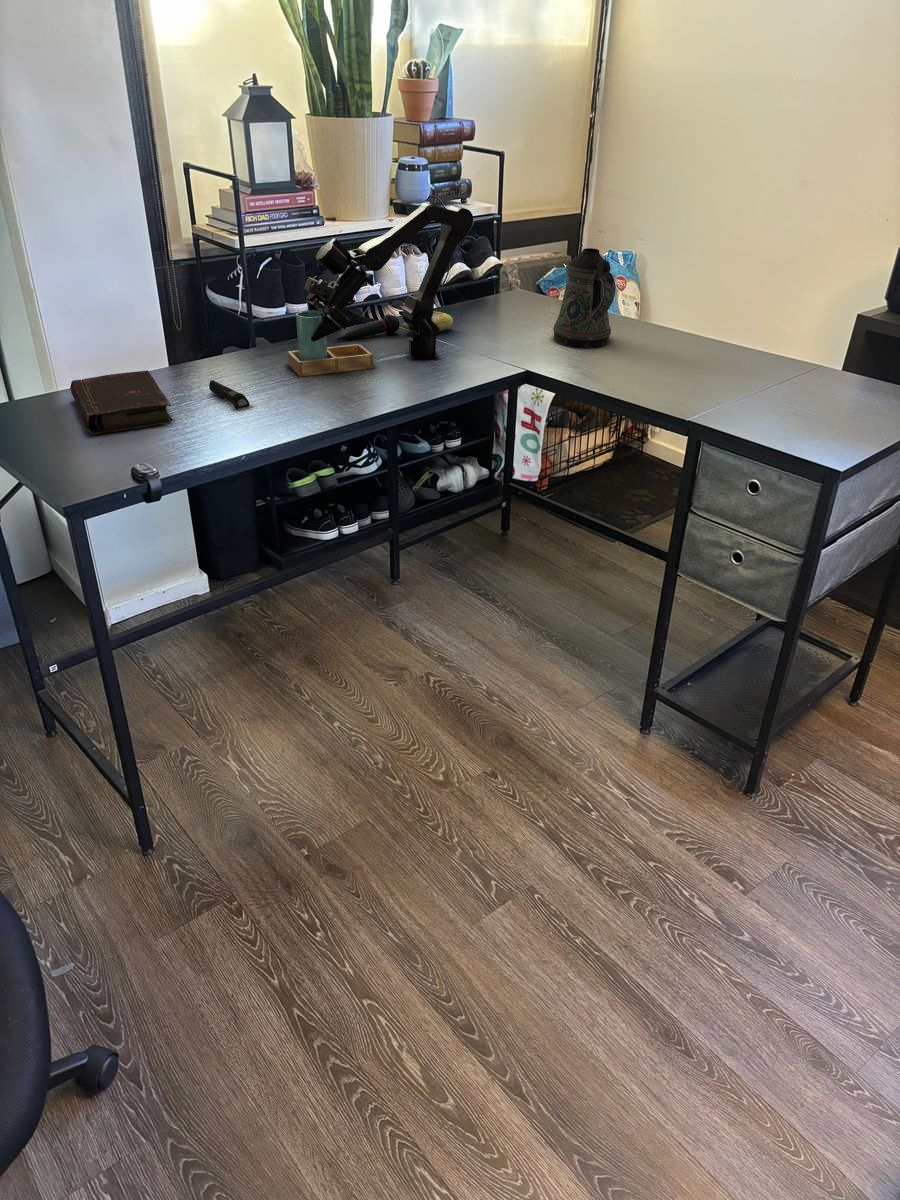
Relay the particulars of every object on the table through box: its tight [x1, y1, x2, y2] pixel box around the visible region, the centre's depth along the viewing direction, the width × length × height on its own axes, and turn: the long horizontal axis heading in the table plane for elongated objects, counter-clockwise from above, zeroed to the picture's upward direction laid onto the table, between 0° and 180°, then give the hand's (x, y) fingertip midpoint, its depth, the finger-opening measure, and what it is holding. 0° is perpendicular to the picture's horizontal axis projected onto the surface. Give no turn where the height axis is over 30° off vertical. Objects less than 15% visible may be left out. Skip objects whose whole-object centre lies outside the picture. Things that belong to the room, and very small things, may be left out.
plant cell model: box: [403, 310, 454, 332], centre depth 260 cm, size 11×8×15 cm
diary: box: [69, 369, 174, 436], centre depth 198 cm, size 19×25×5 cm
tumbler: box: [295, 309, 328, 361], centre depth 226 cm, size 7×7×13 cm
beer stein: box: [552, 247, 617, 349], centre depth 249 cm, size 16×19×25 cm
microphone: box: [336, 313, 401, 341], centre depth 255 cm, size 6×6×20 cm
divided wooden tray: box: [287, 343, 374, 377], centre depth 230 cm, size 20×10×4 cm, turn 114°
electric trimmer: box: [208, 379, 251, 410], centre depth 207 cm, size 4×16×3 cm, turn 39°
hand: (306, 336), depth 225 cm, fingers open, 9 cm apart
